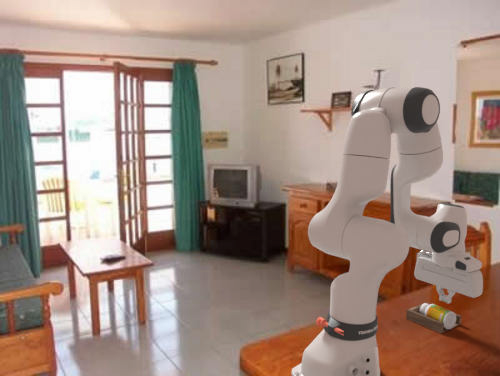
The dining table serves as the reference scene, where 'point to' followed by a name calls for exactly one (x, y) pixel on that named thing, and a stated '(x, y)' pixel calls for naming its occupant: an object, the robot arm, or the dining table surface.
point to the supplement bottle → (439, 314)
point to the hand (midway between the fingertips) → (445, 301)
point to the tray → (428, 320)
